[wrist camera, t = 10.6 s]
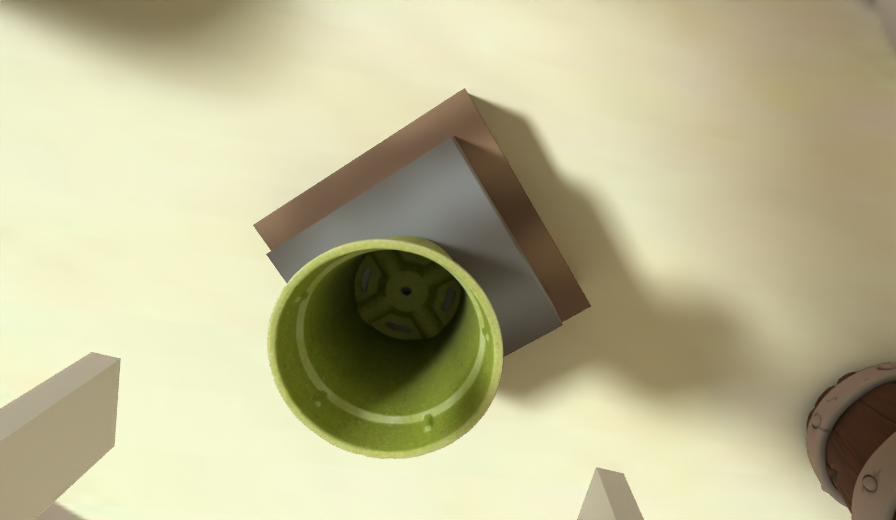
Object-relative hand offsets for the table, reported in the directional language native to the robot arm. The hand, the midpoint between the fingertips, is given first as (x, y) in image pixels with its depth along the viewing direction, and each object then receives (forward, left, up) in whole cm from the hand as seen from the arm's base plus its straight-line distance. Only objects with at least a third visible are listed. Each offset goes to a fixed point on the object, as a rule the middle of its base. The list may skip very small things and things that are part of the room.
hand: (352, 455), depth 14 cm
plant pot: (0, 0, -15) cm, 15 cm away
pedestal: (0, 0, -24) cm, 24 cm away
